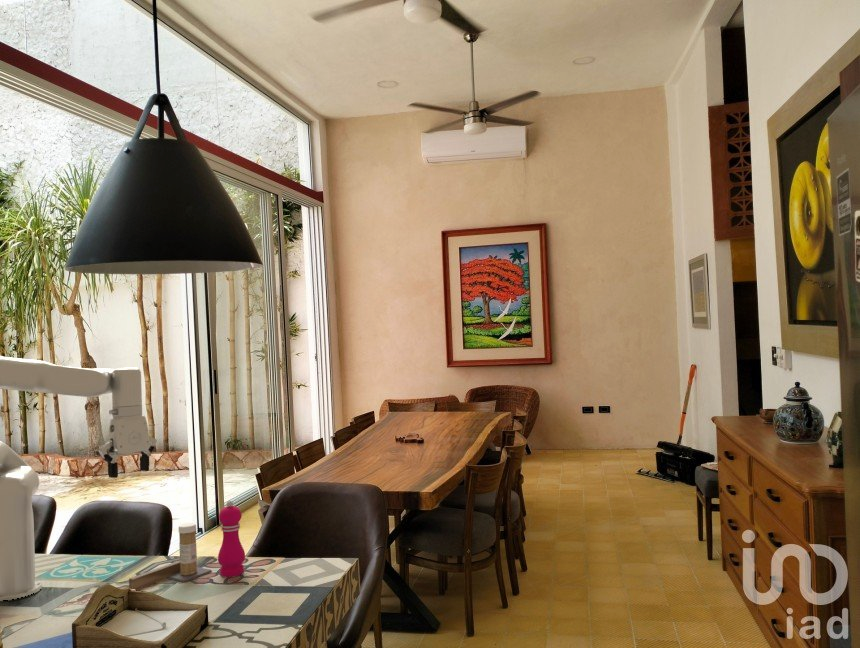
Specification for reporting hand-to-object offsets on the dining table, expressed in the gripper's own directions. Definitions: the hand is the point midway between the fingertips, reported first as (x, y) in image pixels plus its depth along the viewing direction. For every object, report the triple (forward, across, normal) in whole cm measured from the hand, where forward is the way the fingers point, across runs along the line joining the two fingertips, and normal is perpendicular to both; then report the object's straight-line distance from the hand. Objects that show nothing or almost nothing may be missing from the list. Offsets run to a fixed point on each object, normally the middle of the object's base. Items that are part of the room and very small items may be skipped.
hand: (129, 473), depth 190 cm
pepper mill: (+28, +14, -24) cm, 40 cm away
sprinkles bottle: (+28, +8, -14) cm, 32 cm away
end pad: (+28, +8, -14) cm, 33 cm away
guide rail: (+28, +2, -10) cm, 30 cm away
